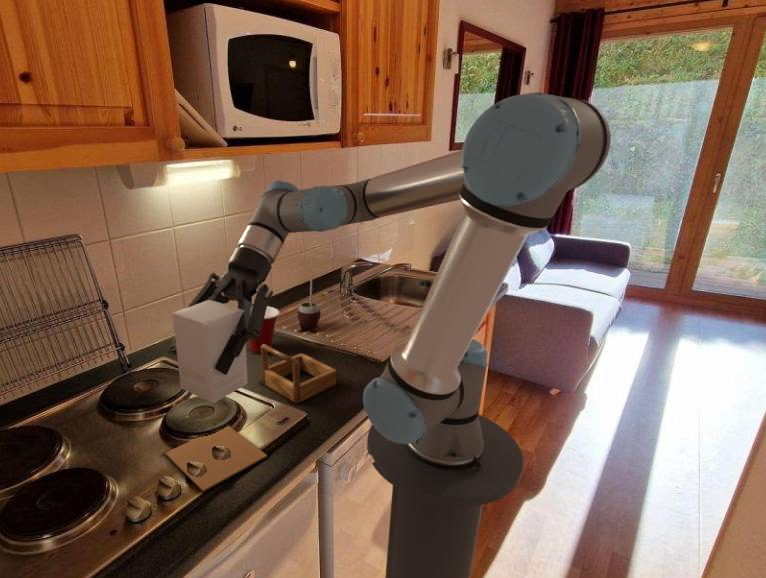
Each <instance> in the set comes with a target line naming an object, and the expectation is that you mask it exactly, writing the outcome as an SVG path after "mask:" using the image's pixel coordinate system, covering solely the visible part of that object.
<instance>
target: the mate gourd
mask: <svg viewBox="0 0 766 578" xmlns="http://www.w3.org/2000/svg"><path fill="white" fill-rule="evenodd" d="M309 295H310V296H309V302H302V303H301V304H300V305H299V307H298V309H297V319H298V322H299V326H300V329H299V331H300V332H301V333H303V332H306V331H309V332H312V333H316V330H315V329H317V328H318V327H319V326H318V324H319V321H320V319H321V315H322V313H321V308H320V306H319V305H318V304H317V303H315V302H313V277H311V278H310V285H309Z"/></svg>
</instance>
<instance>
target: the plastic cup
mask: <svg viewBox="0 0 766 578" xmlns="http://www.w3.org/2000/svg"><path fill="white" fill-rule="evenodd" d="M252 308H253V305H252V307H251V312H252ZM251 312H250V316H251ZM279 315H280V310H279V309H278V308H275V307H274V306H269V305H267V308H266V312H265V316H264V320H263V324H262V328H261V332H260V336H259V339H258V340H256V341H255V340H248V341H247V342H248V345H249V349H250V351H251V353H253V354H258V355H261V346H262V345H263V344H266V345H268V346H270V347H271V348H272V346H273V345H272V344H273V339H274V334H275V327H276V322H277V318H278V316H279Z"/></svg>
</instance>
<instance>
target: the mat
mask: <svg viewBox="0 0 766 578" xmlns="http://www.w3.org/2000/svg"><path fill="white" fill-rule="evenodd" d="M202 436H203V435H202ZM214 446H224V447H227V448H228V449H230V451H231V453H232V454H231V457H230V458H228V459H225V460H216V459H214V457H213V455H212V448H213V447H214ZM164 454H165V456H166V457H167V458H168V459H169V460H170V461H171V462H172V464H174V465H175V466H176V467H177V468H178V469H180V471H181V472H183V474H184V475H186V477H187V478H188V479H190V480H191V482H192V483H193V484H194V485H195V486H196V487H197V488H199V490H200V491H202V493H204V492H206V491H208V490H210V489H211V488H213V487H215V486H217V485H219V484H220V483H222V482H224V481H226V480H227V479H229V478H231V477H233V476H235V475H237V474H238V473H241V472H243V471H244V470H246V469H248V468H250V467H252V466H254V465H255V464H257V463H259V462H260V461H262V460H264V459H266V458H268V454H267V453H265V452H264V451H262V450H261V449H260V448H258V447H257V446H256V445H255V444H253V443H252V442H250V441H249V440H248V439H247V438H245V437H244V436H243V435H242V434H240V433H238V432H237V431H236V430H235V429H234V428H232V427H231V426H230V425H228V426H227V427H225V428H224V429H222V430H220V431H218V432H216V433H214V434H211V435H208V436H203V437H201V436H198V437H196V438H194V439H191V440H190V441H187V442H185V443H183V444H181V445H179V446H177V447H175V448H172V449H170V450H167V451H166V452H165V453H164ZM188 461H195V462H199V463H203V464H204V465H205V466H206V468H207V472H206V473H205V474H204V475H203V476H201V477H200V476H199V477H193V476H192V475H190V474H189V473H188V472H187V463H188Z"/></svg>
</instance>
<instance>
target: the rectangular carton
mask: <svg viewBox="0 0 766 578" xmlns="http://www.w3.org/2000/svg"><path fill="white" fill-rule="evenodd" d="M187 307H188V306H187ZM187 307H184V308H182V309H179V310H177V311H174V312H172V314H171V315H172V322H173V331H174V339H175V350H176V349H177V356H176V357H177V358H176V359H177V365H178V374H179V375H178V376H179V382H180V383H179V384H180V389H182V390H183V391H186V392H188V393H190V394H192V395H194V396H196V397H198V398H200V399H202V400H205V401H207V402H208V403H211V404H215V403H217V402H218V401H220V400H222V399H223V398H226V397H227V396H229V395H230V394H233V393H234V392H236V391H237V390H239V389H241V388H242V387H244V386H246V385H248V384H249V383H248V365H247V363H248V362H247V342H246V343H245V345H244V347H243V349H242V351H241V353H240V355H239V356H238V357H235V359H234V361H233V363H232V365H231V367H230V369H229V371H228V373H227V375H225V374H222V373H221V372H219V371H218V370H216V369H215V367H216V365H217V363H218V361H219V358H220V356H221V354H222V352H223V350H224V348H225V346H226V344H227V342H228V340H229V338H230V336H231V334H233V335H235V336H237V335H236V334H235V333H234V332H236V331H237V324H238V322H239V320H240V318H241V316H242V314H243V312H244V310H241V309H238V307H236V306H235V307H234V306H232V305H228V304H226V303H224V304H222V303H219V302H216V301H211V300H207V301H204V302H201V303H199V304H196V305H194V306H191V307H188V308H187Z"/></svg>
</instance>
